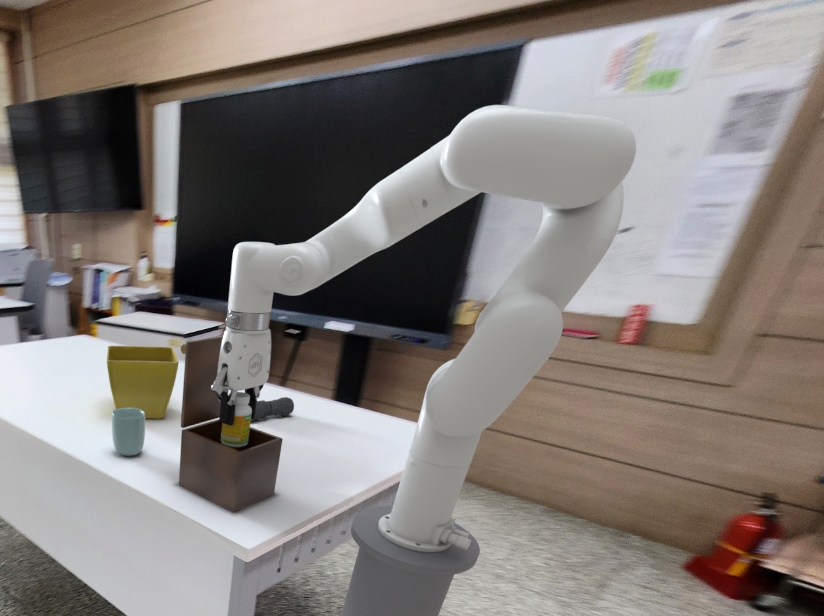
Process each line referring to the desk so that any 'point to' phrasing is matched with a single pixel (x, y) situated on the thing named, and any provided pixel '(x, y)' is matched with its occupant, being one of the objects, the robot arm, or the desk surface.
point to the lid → (200, 381)
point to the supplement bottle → (238, 423)
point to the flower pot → (142, 377)
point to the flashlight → (274, 408)
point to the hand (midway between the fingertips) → (237, 419)
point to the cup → (128, 430)
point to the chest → (228, 466)
